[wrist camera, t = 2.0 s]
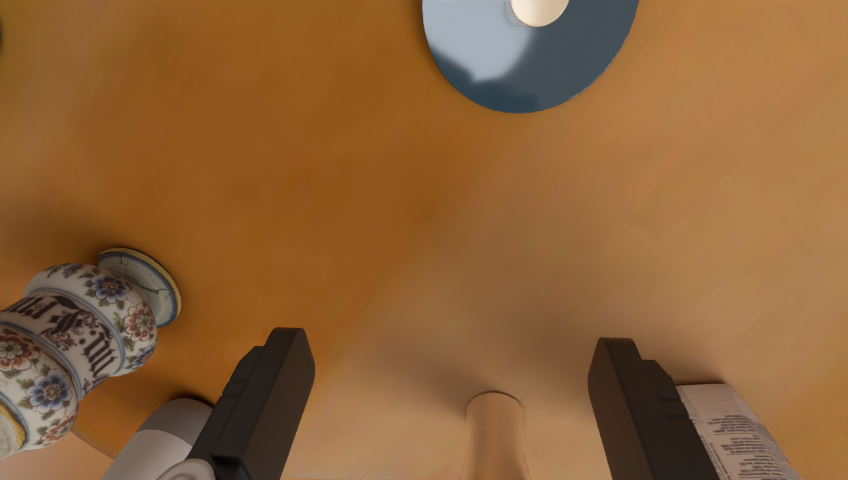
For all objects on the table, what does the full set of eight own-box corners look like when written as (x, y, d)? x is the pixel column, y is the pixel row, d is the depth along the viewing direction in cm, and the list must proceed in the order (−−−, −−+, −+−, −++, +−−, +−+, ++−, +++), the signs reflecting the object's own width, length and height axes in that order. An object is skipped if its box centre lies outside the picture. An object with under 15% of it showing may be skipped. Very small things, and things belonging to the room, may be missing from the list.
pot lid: (530, 148, 31) (543, 187, 23) (385, 28, 29) (346, 27, 21) (684, -22, 26) (773, -48, 18) (518, -189, 23) (534, -306, 15)
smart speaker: (241, 446, 53) (166, 571, 41) (177, 438, 55) (85, 557, 42) (224, 392, 49) (135, 513, 37) (154, 385, 50) (45, 500, 38)
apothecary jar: (100, 214, 40) (-159, 333, 24) (209, 284, 42) (37, 438, 26) (72, 291, 45) (-156, 432, 29) (170, 351, 47) (7, 513, 31)
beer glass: (539, 424, 44) (560, 593, 31) (481, 441, 47) (478, 603, 33) (509, 380, 42) (519, 540, 29) (450, 400, 44) (434, 556, 31)
